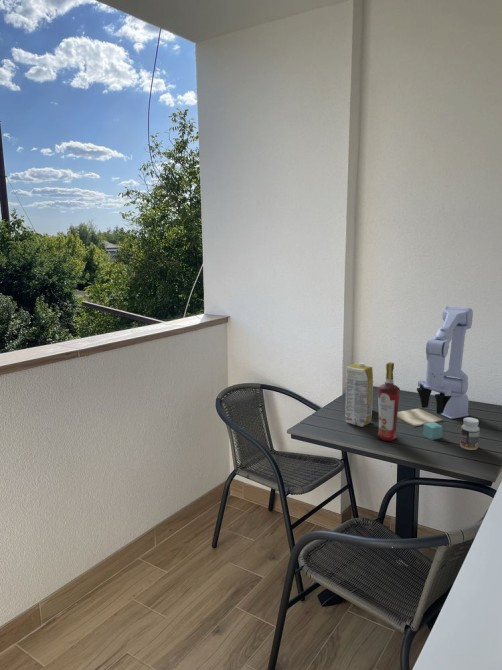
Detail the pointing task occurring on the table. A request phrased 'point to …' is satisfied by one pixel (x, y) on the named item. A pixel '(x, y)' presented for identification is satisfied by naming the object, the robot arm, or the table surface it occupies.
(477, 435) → the pill bottle
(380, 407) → the liquor
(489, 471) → the table surface
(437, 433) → the teal cube
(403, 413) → the birch board
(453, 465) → the table surface
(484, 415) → the table surface
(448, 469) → the table surface
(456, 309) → the robot arm
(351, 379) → the juice carton
